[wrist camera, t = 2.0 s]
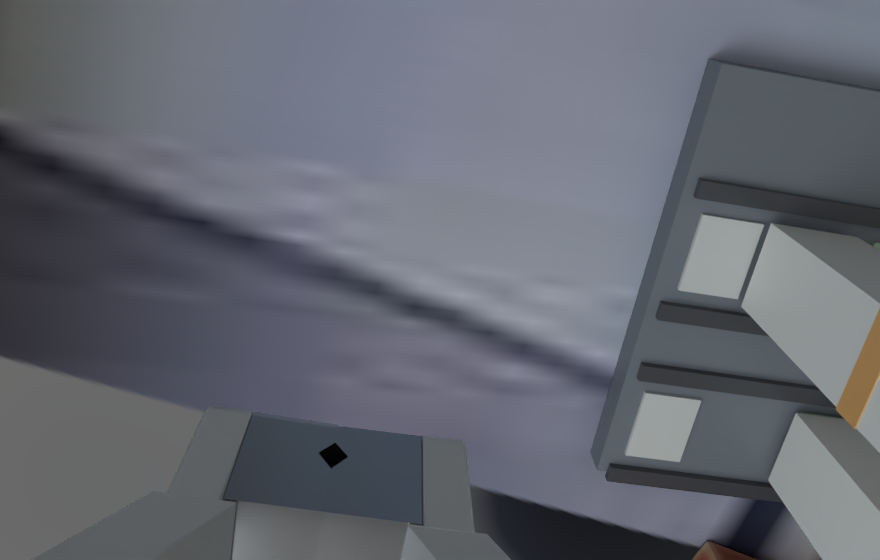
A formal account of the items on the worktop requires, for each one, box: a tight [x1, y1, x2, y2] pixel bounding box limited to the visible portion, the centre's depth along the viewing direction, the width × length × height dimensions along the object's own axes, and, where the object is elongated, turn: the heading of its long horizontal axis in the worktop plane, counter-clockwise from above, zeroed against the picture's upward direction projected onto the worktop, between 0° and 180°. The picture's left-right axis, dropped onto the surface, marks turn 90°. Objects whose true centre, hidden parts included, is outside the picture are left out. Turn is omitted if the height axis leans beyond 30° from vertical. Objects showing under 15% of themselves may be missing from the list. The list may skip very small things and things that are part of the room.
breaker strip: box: [591, 59, 880, 560], centre depth 31 cm, size 20×14×13 cm
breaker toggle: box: [741, 223, 880, 453], centre depth 29 cm, size 4×4×11 cm
